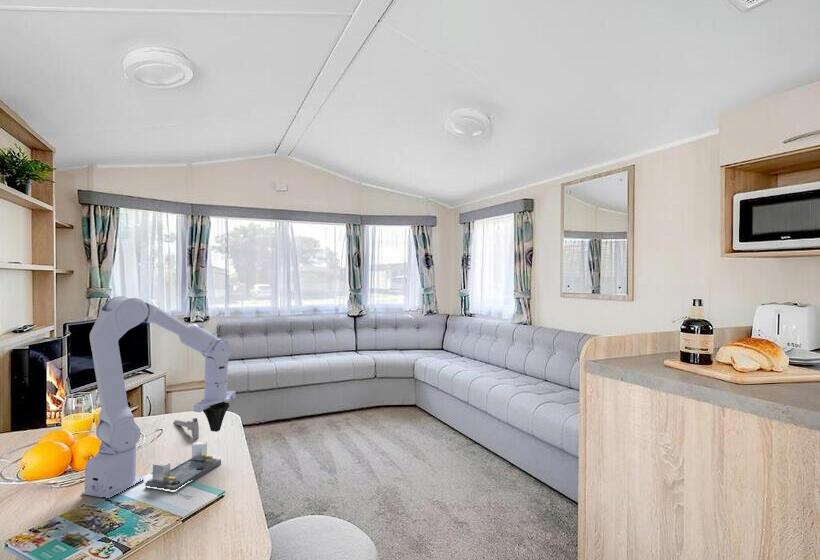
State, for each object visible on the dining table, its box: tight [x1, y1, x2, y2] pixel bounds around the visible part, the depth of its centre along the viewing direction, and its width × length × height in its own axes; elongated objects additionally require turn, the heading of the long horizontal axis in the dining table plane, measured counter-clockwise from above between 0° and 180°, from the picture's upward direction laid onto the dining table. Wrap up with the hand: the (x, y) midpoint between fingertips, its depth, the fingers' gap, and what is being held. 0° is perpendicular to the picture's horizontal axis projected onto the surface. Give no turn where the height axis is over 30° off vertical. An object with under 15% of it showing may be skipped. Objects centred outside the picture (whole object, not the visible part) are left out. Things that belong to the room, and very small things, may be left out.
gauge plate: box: [144, 456, 222, 490], centre depth 107 cm, size 16×8×5 cm, turn 166°
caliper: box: [173, 417, 200, 440], centre depth 138 cm, size 20×1×6 cm, turn 45°
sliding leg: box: [191, 441, 214, 461], centre depth 114 cm, size 2×5×4 cm, turn 76°
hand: (215, 430), depth 120 cm, fingers closed
